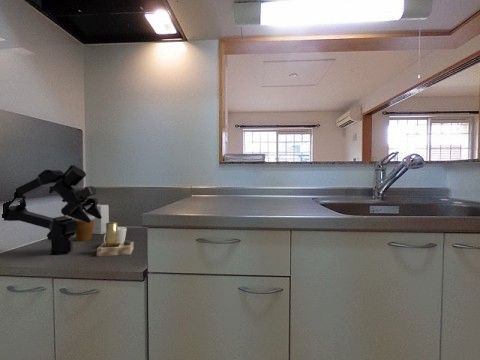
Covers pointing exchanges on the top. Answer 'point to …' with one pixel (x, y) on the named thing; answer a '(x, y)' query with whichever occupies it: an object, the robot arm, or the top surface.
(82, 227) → the disposable coffee cup
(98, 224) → the skincare box
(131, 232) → the top surface
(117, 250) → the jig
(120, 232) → the cup
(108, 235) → the tan piece
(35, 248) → the top surface
